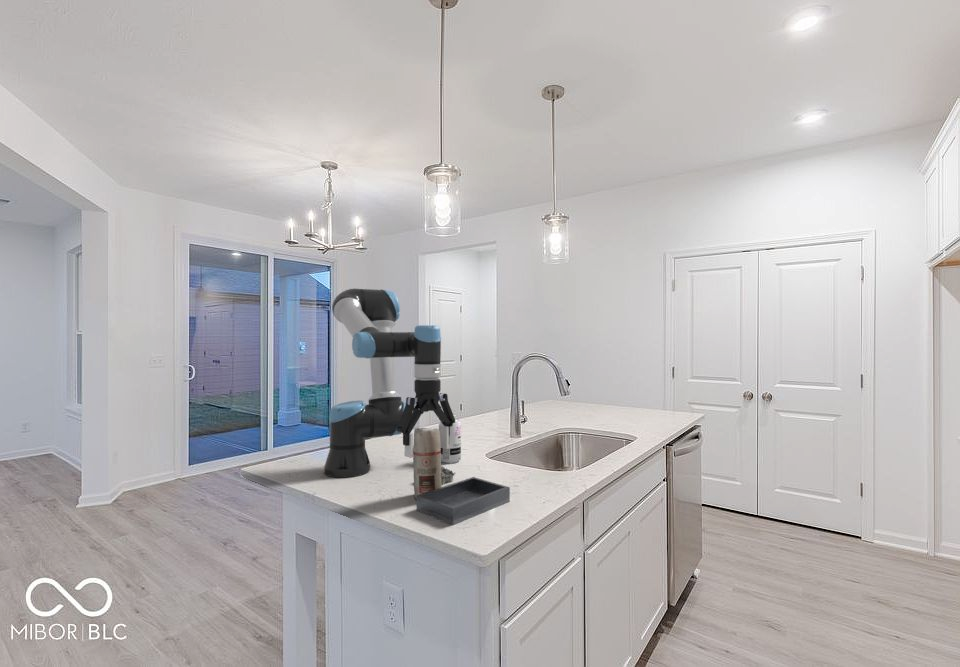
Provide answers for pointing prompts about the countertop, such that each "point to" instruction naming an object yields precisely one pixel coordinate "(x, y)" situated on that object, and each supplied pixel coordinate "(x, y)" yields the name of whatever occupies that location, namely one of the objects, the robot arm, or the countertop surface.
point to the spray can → (426, 460)
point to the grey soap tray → (462, 500)
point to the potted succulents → (446, 475)
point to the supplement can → (452, 444)
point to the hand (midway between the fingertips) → (427, 452)
